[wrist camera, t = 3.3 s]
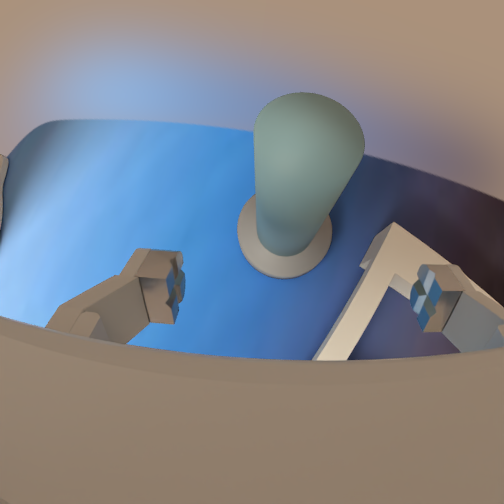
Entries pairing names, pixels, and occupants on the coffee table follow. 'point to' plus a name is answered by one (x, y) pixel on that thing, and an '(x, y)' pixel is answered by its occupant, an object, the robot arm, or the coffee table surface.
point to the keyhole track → (379, 286)
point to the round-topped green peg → (297, 182)
